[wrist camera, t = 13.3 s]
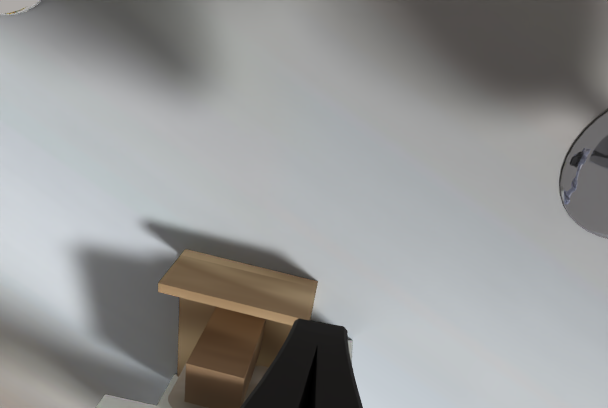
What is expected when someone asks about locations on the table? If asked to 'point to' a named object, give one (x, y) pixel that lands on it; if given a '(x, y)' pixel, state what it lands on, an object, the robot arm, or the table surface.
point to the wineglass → (16, 6)
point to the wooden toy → (229, 325)
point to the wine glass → (588, 179)
